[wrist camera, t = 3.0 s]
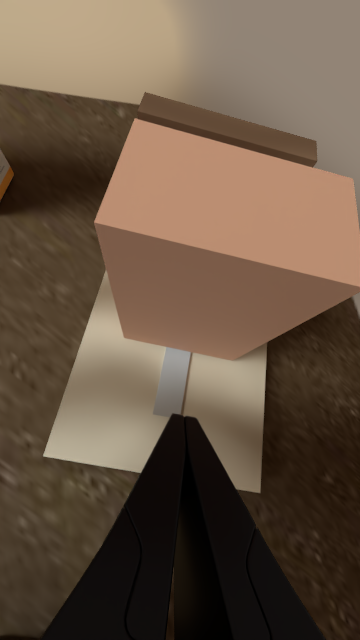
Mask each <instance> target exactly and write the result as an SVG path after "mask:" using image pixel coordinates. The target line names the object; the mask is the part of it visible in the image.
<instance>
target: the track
mask: <svg viewBox="0 0 360 640" xmlns="http://www.w3.org/2000/svg"><path fill="white" fill-rule="evenodd" d="M138 119H139V120H143V121H146V122H150V123H153V124H157V125H161V126H164V127H168V128H171V129H175V130H179V131H182V132H186V133H189V134H193V135H197V136H200V137H204V138H208V139H211V140H215V141H218V142H222V143H226V144H229V145H233V146H236V147H240V148H244V149H247V150H251V151H254V152H258V153H262V154H265V155H269V156H273V157H276V158H280V159H283V160H287V161H291V162H294V163H298V164H301V165H305V166H309V167H312V168H313V166H314V165H315V164H316V162H317V146H316V141H314V140H311V139H307V138H304V137H300V136H297V135H293V134H290V133H286V132H283V131H279V130H276V129H272V128H269V127H265V126H261V125H258V124H255V123H251V122H247V121H244V120H241V119H237V118H234V117H230V116H227V115H223V114H220V113H216V112H213V111H209V110H206V109H202V108H198V107H195V106H192V105H188V104H185V103H181V102H177V101H174V100H170V99H167V98H163V97H160V96H156V95H153V94H150V93H146V92H145V93H144V96H143V99H142V101H141V103H140V106H139V109H138ZM266 356H267V342H266V343H264V344H263V345H261V346H259V347H257V348H255V349H253V350H251V351H250V352H248V353H246V354H244V355H242V356H240V357H238V358H237V359H235V360H233V361H231V360H226V359H222V358H217V357H212V356H207V355H203V354H198V353H193V352H188V351H184V350H179V349H174V348H169V347H165V346H160V345H155V344H150V343H146V342H141V341H136V340H131V339H127V338H124V336H123V332H122V329H121V325H120V321H119V317H118V313H117V309H116V305H115V301H114V298H113V294H112V290H111V286H110V282H109V278H108V274H107V270H106V272H105V275H104V278H103V281H102V283H101V286H100V289H99V292H98V295H97V298H96V301H95V304H94V307H93V310H92V313H91V316H90V319H89V322H88V325H87V328H86V331H85V334H84V337H83V340H82V343H81V346H80V349H79V352H78V354H77V357H76V360H75V363H74V366H73V369H72V372H71V375H70V378H69V381H68V384H67V387H66V390H65V393H64V396H63V399H62V402H61V405H60V408H59V411H58V414H57V417H56V420H55V423H54V426H53V428H52V431H51V434H50V437H49V440H48V443H47V446H46V449H45V452H44V455H43V456H45V457H51V458H57V459H62V460H68V461H74V462H80V463H86V464H92V465H98V466H103V467H109V468H115V469H121V470H127V471H133V472H139V473H141V472H142V470H143V468H144V466H145V464H146V462H147V460H148V458H149V456H150V454H151V452H152V451H153V449H154V447H155V445H156V443H157V441H158V439H159V437H160V435H161V433H162V431H163V430H164V428H165V426H166V424H167V422H168V420H169V418H170V416H171V414H172V413H176V414H181V415H183V416H186V415H187V416H192V417H196V418H197V419H198V421H199V423H200V425H201V426H202V428H203V430H204V432H205V434H206V435H207V437H208V439H209V441H210V443H211V444H212V446H213V448H214V450H215V452H216V454H217V455H218V457H219V459H220V461H221V463H222V464H223V466H224V468H225V470H226V472H227V473H228V475H229V477H230V479H231V481H232V483H233V484H234V486H235V488H236V489H238V490H244V491H250V492H256V493H260V488H261V466H262V444H263V422H264V400H265V378H266Z"/></svg>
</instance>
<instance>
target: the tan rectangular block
mask: <svg viewBox="0 0 360 640" xmlns="http://www.w3.org/2000/svg"><path fill="white" fill-rule="evenodd" d="M94 224H95V228H96V232H97V236H98V239H99V243H100V247H101V251H102V255H103V259H104V263H105V267H106V270H107V274H108V278H109V282H110V286H111V290H112V294H113V298H114V301H115V305H116V309H117V313H118V317H119V321H120V325H121V329H122V332H123V336H124V338H127V339H131V340H136V341H141V342H146V343H150V344H155V345H160V346H165V347H169V348H174V349H179V350H184V351H188V352H193V353H198V354H203V355H207V356H212V357H217V358H222V359H226V360H231V361H233V360H235V359H237V358H238V357H240V356H242V355H244V354H246V353H248V352H250V351H251V350H253V349H255V348H257V347H259V346H261V345H263V344H264V343H266V342H268V341H270V340H272V339H274V338H276V337H277V336H279V335H281V334H283V333H285V332H287V331H289V330H290V329H292V328H294V327H296V326H298V325H300V324H301V323H303V322H305V321H307V320H309V319H311V318H313V317H314V316H316V315H318V314H320V313H322V312H324V311H326V310H327V309H329V308H331V307H333V306H335V305H337V304H339V303H340V302H342V301H344V300H346V299H348V298H350V297H351V296H353V295H355V294H357V293H359V292H360V232H359V224H358V215H357V206H356V198H355V190H354V182H353V179H352V178H348V177H345V176H341V175H338V174H334V173H330V172H327V171H323V170H319V169H316V168H312V167H309V166H305V165H301V164H298V163H294V162H291V161H287V160H283V159H280V158H276V157H273V156H269V155H265V154H262V153H258V152H254V151H251V150H247V149H244V148H240V147H236V146H233V145H229V144H226V143H222V142H218V141H215V140H211V139H208V138H204V137H200V136H197V135H193V134H189V133H186V132H182V131H179V130H175V129H171V128H168V127H164V126H161V125H157V124H153V123H150V122H146V121H143V120H139V119H134V122H133V125H132V127H131V130H130V132H129V135H128V137H127V140H126V142H125V145H124V147H123V150H122V153H121V155H120V158H119V160H118V163H117V165H116V168H115V170H114V173H113V176H112V178H111V181H110V183H109V186H108V188H107V191H106V193H105V196H104V198H103V201H102V204H101V206H100V209H99V211H98V214H97V216H96V219H95V221H94Z"/></svg>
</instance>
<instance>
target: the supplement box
mask: <svg viewBox="0 0 360 640" xmlns="http://www.w3.org/2000/svg"><path fill="white" fill-rule="evenodd" d="M13 176H14V173H13V171H12V169H11V167H10V165H9V163H8V162H7V160H6V158H5V156H4V154H3V153H2V151H1V149H0V201H1V199H2V197H3V195H4V193H5V191H6V189H7V187H8V185H9V183H10V182H11V180H12V178H13Z"/></svg>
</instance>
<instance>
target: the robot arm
mask: <svg viewBox="0 0 360 640" xmlns="http://www.w3.org/2000/svg"><path fill="white" fill-rule="evenodd" d="M255 527H256V524H255V522H254V521H253V519H252V517H251V515H250V513H249V512H248V510H247V508H246V506H245V504H244V502H243V501H242V499H241V497H240V495H239V493H238V492H237V490H236V488H235V486H234V484H233V483H232V481H231V479H230V477H229V475H228V473H227V472H226V470H225V468H224V466H223V464H222V463H221V461H220V459H219V457H218V455H217V454H216V452H215V450H214V448H213V446H212V444H211V443H210V441H209V439H208V437H207V435H206V434H205V432H204V430H203V428H202V426H201V425H200V423H199V421H198V419H197V418H196V417H192V416H187V415H186V416H183V415H181V414H176V413H172V414H171V416H170V418H169V420H168V422H167V424H166V426H165V428H164V430H163V431H162V433H161V435H160V437H159V439H158V441H157V443H156V445H155V447H154V449H153V451H152V452H151V454H150V456H149V458H148V460H147V462H146V464H145V466H144V468H143V470H142V472H141V473H140V475H139V477H138V479H137V481H136V483H135V485H134V487H133V489H132V491H131V493H130V494H129V496H128V498H127V500H126V502H125V504H124V507H123V508H122V509H121V511H120V513H119V515H118V517H117V519H116V521H115V523H114V525H113V526H112V528H111V530H110V532H109V533H108V535H107V537H106V539H105V541H104V542H103V544H102V546H101V548H100V549H99V551H98V552H97V554H96V555H95V557H94V559H93V560H92V562H91V563H90V565H89V567H88V568H87V570H86V571H85V573H84V574H83V576H82V577H81V579H80V580H79V582H78V583H77V585H76V586H75V588H74V589H73V591H72V592H71V594H70V595H69V597H68V598H67V600H66V601H65V603H64V604H63V606H62V607H61V609H60V610H59V612H58V613H57V615H56V616H55V618H54V619H53V621H52V622H51V624H50V625H49V627H48V628H47V630H46V631H45V633H44V634H43V636H42V637H41V639H40V640H165V638H166V629H167V620H168V611H169V602H170V593H171V584H172V575H173V566H174V638H175V640H326V639H325V637H324V636H323V634H322V633H321V631H320V630H319V628H318V626H317V625H316V623H315V622H314V620H313V619H312V617H311V616H310V614H309V613H308V611H307V610H306V608H305V606H304V605H303V603H302V602H301V600H300V599H299V597H298V596H297V594H296V592H295V591H294V589H293V588H292V586H291V584H290V583H289V581H288V580H287V578H286V576H285V575H284V573H283V572H282V570H281V568H280V566H279V565H278V563H277V561H276V560H275V558H274V556H273V554H272V553H271V551H270V549H269V547H268V546H267V544H266V542H265V540H264V539H263V537H262V535H261V533H260V531H259V529H258V528H255Z"/></svg>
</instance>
